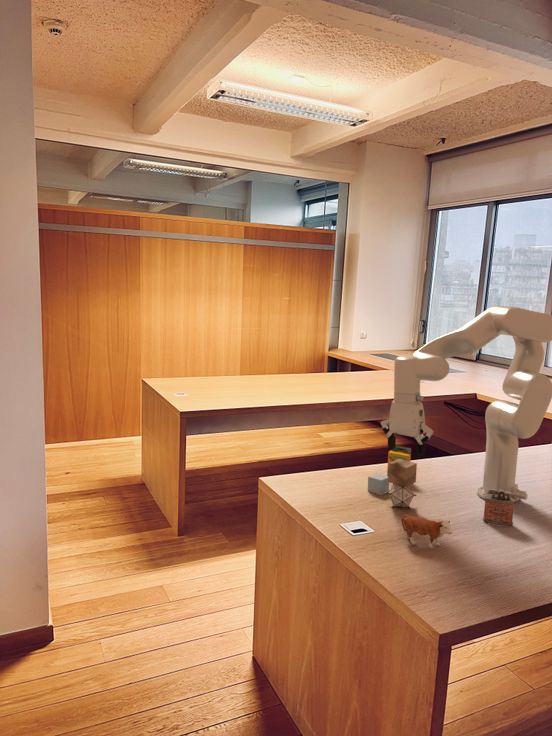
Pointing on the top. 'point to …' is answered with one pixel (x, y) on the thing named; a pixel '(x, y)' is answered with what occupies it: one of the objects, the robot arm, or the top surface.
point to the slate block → (378, 483)
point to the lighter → (499, 508)
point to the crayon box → (398, 455)
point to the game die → (401, 495)
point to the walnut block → (402, 472)
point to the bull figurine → (425, 528)
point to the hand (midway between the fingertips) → (405, 452)
